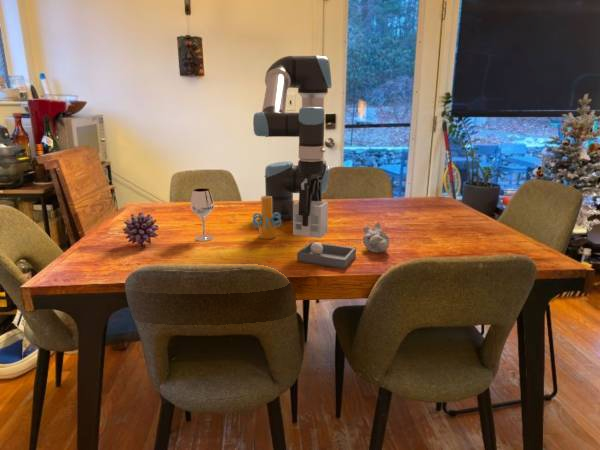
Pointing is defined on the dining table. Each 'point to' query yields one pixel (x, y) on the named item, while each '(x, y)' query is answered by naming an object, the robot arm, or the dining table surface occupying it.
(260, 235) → the orange and blue piece
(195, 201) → the wineglass
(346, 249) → the tray
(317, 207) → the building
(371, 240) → the figurine
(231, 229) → the dining table surface
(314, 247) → the ball
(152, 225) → the purple spiky ball
